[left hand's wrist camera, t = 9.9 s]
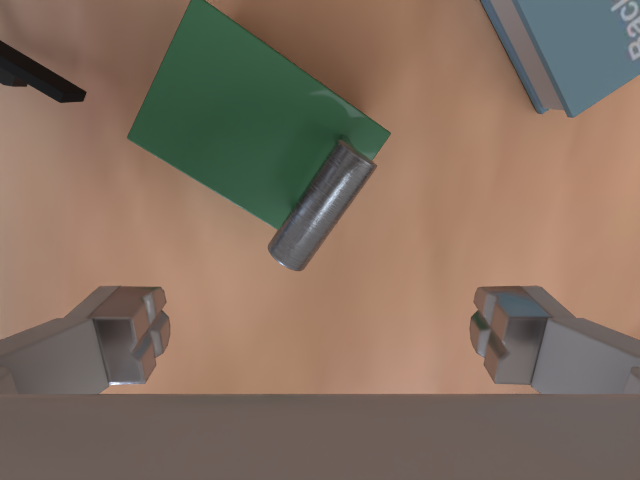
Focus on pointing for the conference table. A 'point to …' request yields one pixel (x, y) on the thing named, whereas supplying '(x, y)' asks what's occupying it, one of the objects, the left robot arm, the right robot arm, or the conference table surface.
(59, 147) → the conference table surface
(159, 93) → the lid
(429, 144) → the conference table surface
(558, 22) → the book
